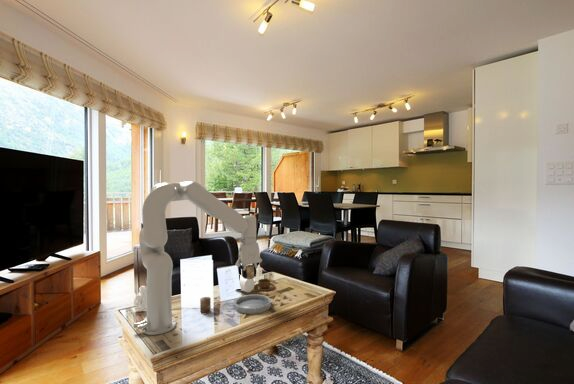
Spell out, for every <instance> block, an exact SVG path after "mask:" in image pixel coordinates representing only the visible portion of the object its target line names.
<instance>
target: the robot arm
mask: <svg viewBox="0 0 574 384" xmlns="http://www.w3.org/2000/svg"><path fill="white" fill-rule="evenodd" d="M178 201H179V202H180V201H189V202H190V203H191V204H193V205H194V206H195V207H197V208H198V209H199V210H200V211H202V212H203V213H205V214H206V215H208V216H209V217H211V218H215V219H218V220H219V221H220V222H223V226H224V228H225V229H226V230H227V231H228V232H232V233H236V234H240V238H239V239H238V242H239V248H238V259H237V260H236V262H235V266H237V267H238V268H239V269H240V270H241V275H242V277H243V278H245V279H246V278H247V271H246V265H249V264H251V265H254V278H255V277H257V269H258V266H259V265H260V264H261V263H262V262H263V259H262V258H261V254H260V253H261V252H260V245H259V242H257V217H256V216H255V215H252V214H251V215H242V214H241V213H240V212H238V211H237V210H236V209H235V208H233V207H231V206H229V205H228V204H227V203H225V202H224V201H222V200H221V199H219V198H218V197H216V196H215V195H214V194H212V193H211V192H210V191H209V190H207V189H206V188H205V187H204V186H203V185H201V184H200V183H198V182H197V181H194V180H189V181H181V182H160V183H156V184H154V185H153V186H152V187H151V189H150V191H149V194H148V195H147V196H146V198H145V199H144V202H143V205H142V208H141V209H142V211H141V212H142V214H141V215H142V225H143V227H142V228H141V230H140V231H139V235H138V236H139V239H138V240H139V249H140V258H141V262H142V265H143V267H144V268H145V269H146V279H145V280H146V283H145V284H146V285H145V287H146V307H147V312H146V316H145V317H144V320H142V321H139V322H138V321H137V322H133V329H137V330H140V329H141V330H142V333H143V334H145V335H148V336H156V335H162V334H166V333H168V332H170V331H172V330H173V329H175V328H176V324H177V323H176V320H175V319H173V314H172V313H173V310H172V307H173V305H172V303H173V302H172V299H173V298H172V296H173V295H172V277H173V267H174V264H173V260H172V257H171V256H170V255H169V253H168V252H167V251H165V245H166V244H167V242H168V238H169V236H168V229H167V223H166V222H167V221H166V210H167V207H168V206H169V204H171V202H178Z"/></svg>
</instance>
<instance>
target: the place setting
mask: <svg viewBox="0 0 574 384" xmlns="http://www.w3.org/2000/svg"><path fill="white" fill-rule="evenodd" d="M257 281H258V283H256V284H255V285H254V288H253V292H254V294H258V292H267V293H266V294H267V295H268V292H269V291H273V290H274V288H275V287H276V286H275V284H274V283H271V279H269V278H261V279H258V280H257ZM269 287H271V288H269Z"/></svg>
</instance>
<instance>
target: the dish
mask: <svg viewBox="0 0 574 384" xmlns="http://www.w3.org/2000/svg"><path fill="white" fill-rule="evenodd" d="M271 307H272V298H270V297H269V296H267V295H263V294H258V293H257V294H255V293H254V294H253V293H252V294H246V295H241V296H239V297H237V298H235V299H234V300H233V307H232V308H233V309H234V310H235V312H238V313H241V314H247V315H252V314H260V313H263V312H266V311H268V310H269V309H270V308H271Z"/></svg>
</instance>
